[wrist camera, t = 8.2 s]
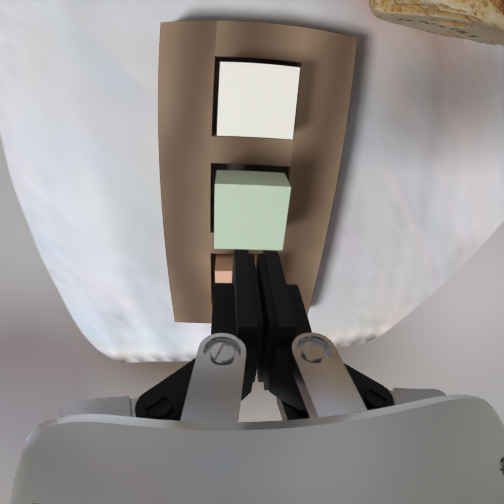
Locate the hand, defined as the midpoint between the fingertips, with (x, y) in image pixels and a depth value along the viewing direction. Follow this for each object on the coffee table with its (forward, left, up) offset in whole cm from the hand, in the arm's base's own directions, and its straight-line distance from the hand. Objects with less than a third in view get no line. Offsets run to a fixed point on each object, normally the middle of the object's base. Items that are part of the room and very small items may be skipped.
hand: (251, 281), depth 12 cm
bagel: (-11, -15, -12) cm, 22 cm away
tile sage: (0, +1, -10) cm, 10 cm away
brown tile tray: (0, +1, -12) cm, 12 cm away
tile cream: (0, -6, -11) cm, 12 cm away
